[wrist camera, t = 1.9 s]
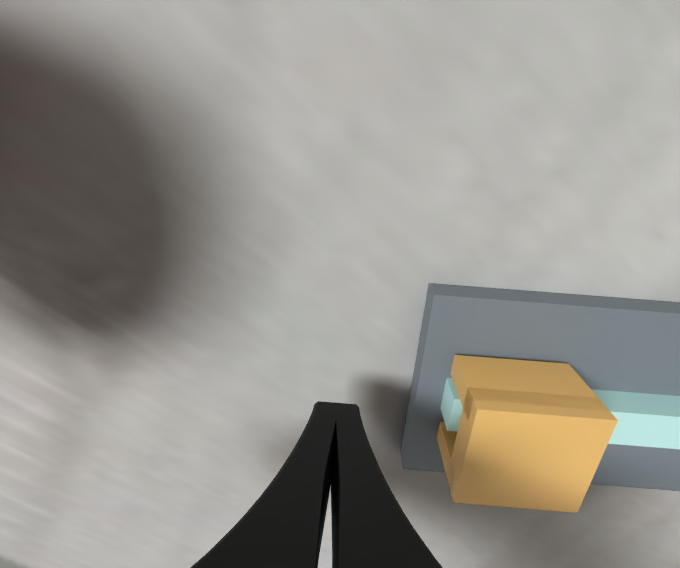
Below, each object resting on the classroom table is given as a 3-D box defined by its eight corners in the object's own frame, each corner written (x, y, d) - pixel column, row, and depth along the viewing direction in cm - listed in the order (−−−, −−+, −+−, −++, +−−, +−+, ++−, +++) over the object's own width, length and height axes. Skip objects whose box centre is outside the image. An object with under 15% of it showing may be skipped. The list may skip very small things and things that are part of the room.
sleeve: (539, 445, 15) (577, 512, 13) (436, 437, 15) (453, 502, 13) (568, 363, 14) (618, 420, 11) (454, 354, 14) (477, 409, 11)
